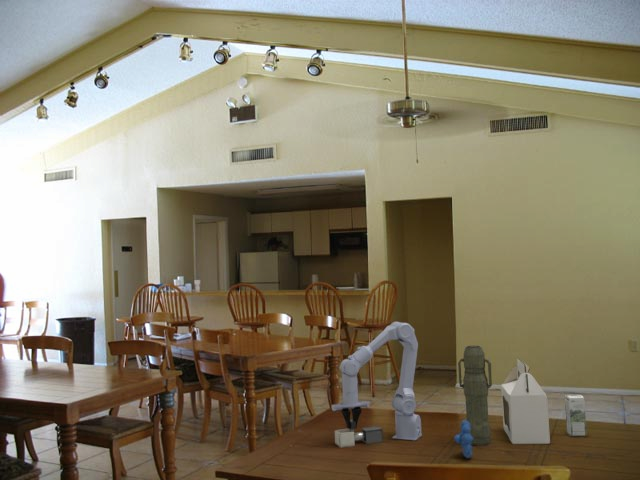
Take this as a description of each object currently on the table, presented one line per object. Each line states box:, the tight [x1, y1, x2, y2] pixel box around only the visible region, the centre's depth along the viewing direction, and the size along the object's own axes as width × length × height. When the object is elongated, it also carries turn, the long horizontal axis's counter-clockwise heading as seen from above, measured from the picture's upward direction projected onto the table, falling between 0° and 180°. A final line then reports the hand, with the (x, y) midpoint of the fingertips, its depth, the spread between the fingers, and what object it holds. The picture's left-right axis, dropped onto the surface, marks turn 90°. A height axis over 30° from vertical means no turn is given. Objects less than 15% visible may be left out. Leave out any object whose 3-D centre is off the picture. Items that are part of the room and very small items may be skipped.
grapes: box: [453, 419, 474, 459], centre depth 216 cm, size 12×7×12 cm, turn 170°
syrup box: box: [564, 394, 588, 437], centre depth 237 cm, size 6×6×14 cm
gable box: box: [500, 358, 551, 445], centre depth 238 cm, size 22×13×28 cm, turn 172°
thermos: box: [457, 345, 493, 446], centre depth 233 cm, size 9×12×35 cm
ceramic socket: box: [334, 428, 356, 448], centre depth 237 cm, size 6×6×5 cm
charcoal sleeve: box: [361, 425, 384, 445], centre depth 240 cm, size 6×5×5 cm
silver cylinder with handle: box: [350, 418, 366, 442], centre depth 238 cm, size 9×4×8 cm, turn 106°
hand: (351, 428), depth 238 cm, fingers closed on silver cylinder with handle, 2 cm apart
